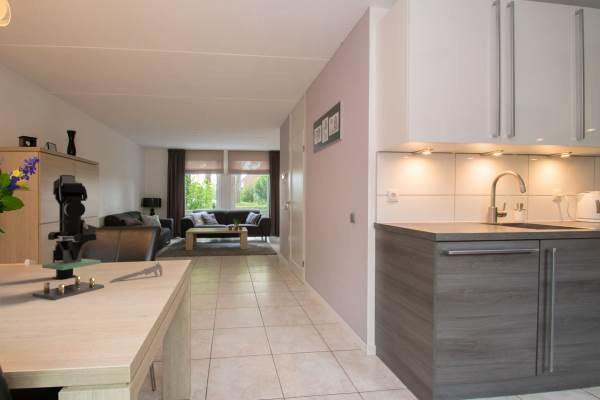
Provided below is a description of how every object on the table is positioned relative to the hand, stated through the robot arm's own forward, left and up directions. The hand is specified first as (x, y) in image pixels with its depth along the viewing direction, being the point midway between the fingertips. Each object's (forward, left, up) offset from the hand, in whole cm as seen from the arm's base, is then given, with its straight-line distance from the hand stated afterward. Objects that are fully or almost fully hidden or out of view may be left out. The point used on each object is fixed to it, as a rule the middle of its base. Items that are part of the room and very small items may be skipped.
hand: (72, 260), depth 128 cm
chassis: (0, -1, -11) cm, 11 cm away
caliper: (+5, +24, -12) cm, 27 cm away
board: (0, 0, -2) cm, 2 cm away
